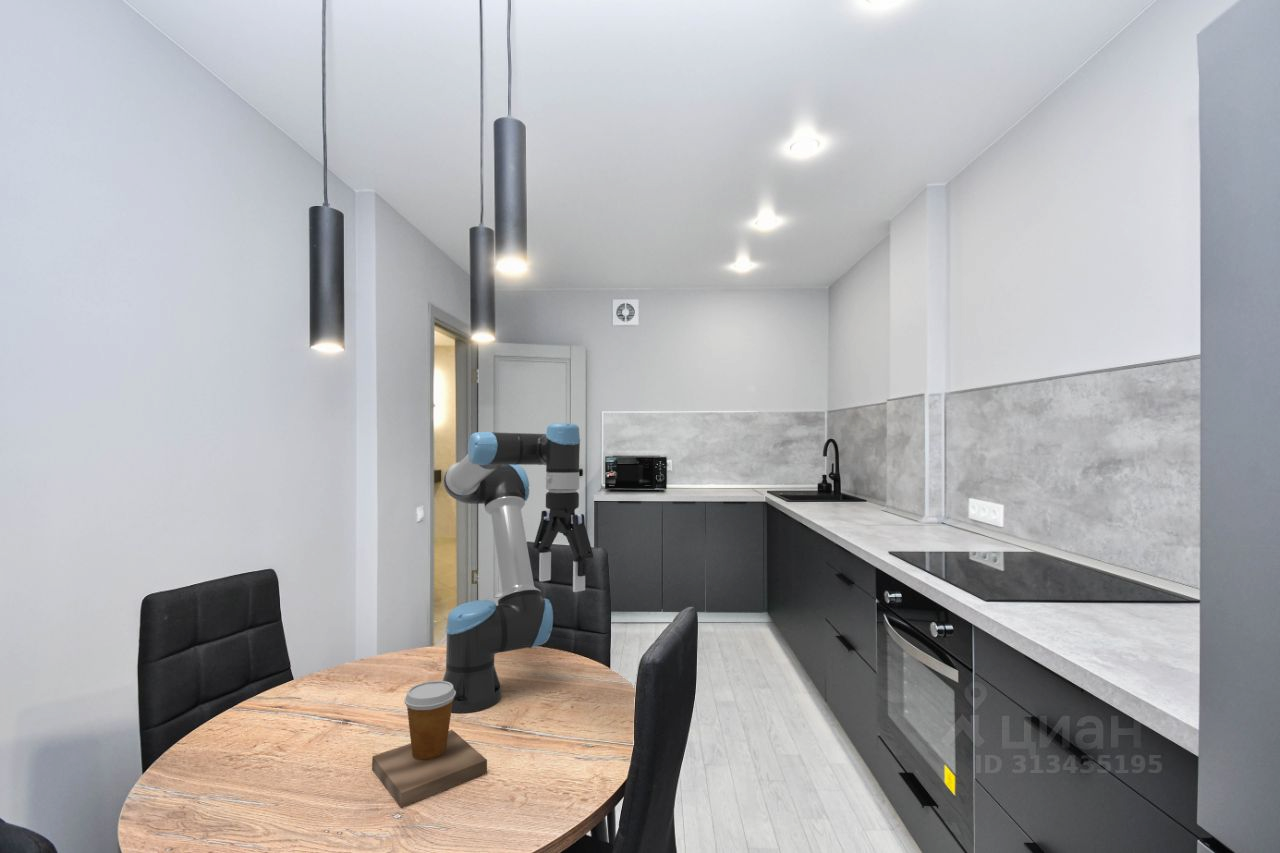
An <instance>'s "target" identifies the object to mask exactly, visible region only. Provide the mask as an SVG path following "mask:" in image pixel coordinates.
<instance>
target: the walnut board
mask: <svg viewBox="0 0 1280 853" xmlns="http://www.w3.org/2000/svg"><path fill="white" fill-rule="evenodd" d="M371 758H372V760H371V762H372V763H371V770H372V771H373V773H374V774H375V775H376V777H377V778H378V779H379V781H380V782H381V784H382V785H383V786H384V787H385V789H386V791H388V792H389V795H390V796H392V798H393V799H394V801H395V802H396V803H397V805H398V806H399V807H400V808H405V807H407V806H409V805H412V804H415V803H417V802H420V801H423V800H424V799H427V798H429V797H432V796H435V795H437V794H440V793H442V792H444V791H446V790H449V789H452V788H454V787H456V786H459V785H462V784H464V783H467V782H470V781H472V780H474V779H476V778H479V777H481V776H484V775H486V774H487V773H488V759H487V758H486V757H484V756H483V755H482V754H481V753H480V752H478V750H476V749H475V748H474V747H473V746H472V745H471V744H470V743H468V742H467V740H465V739H464V738H462V736H460V735H459V734H458V733H457V732H456V731H455V730H453V729H449V731H448V739H447V746H446V751H445V752H444V753H443V754H442V755H440V756H438V757H436V758H432V759H427V760H419V759H416V758H414V757H413V756H412V748H411V742H410V743H407V744H405V745H402V746H399V747H396V748H392V749H390V750H386V751H383V752H381V753H378V754H376V755H372V757H371Z"/></svg>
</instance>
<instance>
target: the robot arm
mask: <svg viewBox="0 0 1280 853" xmlns="http://www.w3.org/2000/svg"><path fill="white" fill-rule="evenodd" d="M580 437H581V436H580V428H579V426H578V425H577V424H576V423H561V422H559V423H548V424H547V427H546V432H545V433H525V432H524V433H523V432H521V433H520V432H519V433H518V432H495V431H493V432H491V431H480V432H478V431H477V432H474V433H472V434H471V435H470V437H469V440H468V444H467V454H466V456H464V457H463V458H462V459H461V460H460V461H457V462H455V463H453V464H452V465H450V467H449V468H448V469H447V470H446V471H445V473H444V476H443V486H444V489H445V491H446V493H447V494H448V495H449V496H451V498H453V499H454V500H456V501H458V502H460V503H464V504H469V505H484V510H485V512H486V513H487V514H488V515H491V522H492V527H493V537H494V542H495V543H494V544H495V550H496V557H497V564H498V570H499V578H500V584H501V592H502V594H501V595H500V597H499V598H498V599H497V605H496V602H495V601H494V600H491V599H483V600H481V599H479V600H478V599H477V600H471V601H469V602H465V603H462V604H460V605H457V606H456V607H454V608H453V609H451V610H450V612H449V613H448V616H447V622H446V627H445V628H446V629H445V632H446V652H445V653H446V655H445V656H446V657H445V658H446V659H445V661H446V662H445V663H446V664H445V672H444V676H443V678H442V681H446V682H449V683H451V684H452V685H453V687H454V690H455V692H456V694H455V696H454V699H453V703H452V710H451V713H472V712H473V713H474V712H478V711H482V710H485V709H489V708H490V707H491V706H494V705H495V704H497V703H498V702H500V699H501V697H502V688H501V687H502V686H501V682H500V681H499V680H500V679H499V676H498V674H497V671H496V670H497V669H496V667H495V656H496V654H499V653H500V654H501V653H505V652H511V651H517V650H518V651H519V650H522V649H532V648H534V647H538V646H542V645H544V644H546V643H547V641H548V640H549V639H550V636H551V635H552V634H551V633H552V629H553V624H554V612H553V606H552V605H553V604H552V603H551V601H550V600H549V599H548V598H543V595H542V592H541V590H540V589H539V588H537V587H536V586H535V584H534V578H533V572H532V571H533V570H532V566H531V565H532V564H531V561H530V560H531V559H530V556H529V555H530V554H529V549H528V542H527V536H526V532H525V530H526V529H525V525H524V521H523V520H524V518H523V515H522V509H523V508H524V507H525V505H526V501H528V498H529V496H530V482H529V477H528V474H527V472H526V470H525V469H524V468H523V466H522V465H525V466H526V465H529V466H530V465H531V466H532V465H533V466H534V465H537V466H545V467H546V468H545V472H546V477H545V480H546V482H545V484H546V486H545V489H546V490H548V492H546V493H545V509H548V510H542V511H541V513H540V522H539V525H538V529H537V532H536V536H535V538H534V543H533V549H537V553H538V562H539V563H538V565H539V567H538V568H539V570H538V571H539V572H538V573H539V574H538V580H539V582H547V581H551V579H552V552H551V551H552V549H551V547H552V545H553V543H554V541H555V539H556V537H557V536H558V534H559V533H560V534H562V535H563V536H564V537H565V538H566V541H567V542H568V545H569V547H570V549H571V552H572V553H573V556H574V560H573V561H572V562H573V563H572V564H573V566H572V568H573V570H572V592H573V593H578V592H583V591H586V576H587V561H588V560H589V559H590V560H591V559H593V558H594V553H593V550H592V546H591V545H592V544H591V542H590V539H589V535H588V531H587V527H586V522H585V520H586V519H585V514H583V513H580V514H576V512H575V511H576V509H578V508H579V506H580V493H579V492H578V491H577V490H579V489H580V450H581V449H580V448H581V446H580V445H581V444H580V443H581V438H580Z"/></svg>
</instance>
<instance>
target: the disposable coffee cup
mask: <svg viewBox="0 0 1280 853" xmlns="http://www.w3.org/2000/svg"><path fill="white" fill-rule="evenodd" d="M455 694H456V692H455V690H454V687H453V685H452V684H451V683H449V682H446V681H443V680H430V681H425V682H421V683H418V684H415V685H413V686H411V687H410V688H409V689H408V690H407V691H406V696H405V697H404V700H403V701H404V704H405V706H406V708H407V717H408V718H407V719H408V726H409V727H408V728H409V736H410V737H409V738H410V743H411V748H412V756H413V757H414V758H416V759H419V760H427V759H432V758H436V757H438V756H440V755H442V754H443V753H444V752H445V751H446V746H447V739H448V731H449V730H450V724H451V723H450V722H451V715H452V712H451V710H452V703H453V699H454V696H455Z"/></svg>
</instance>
